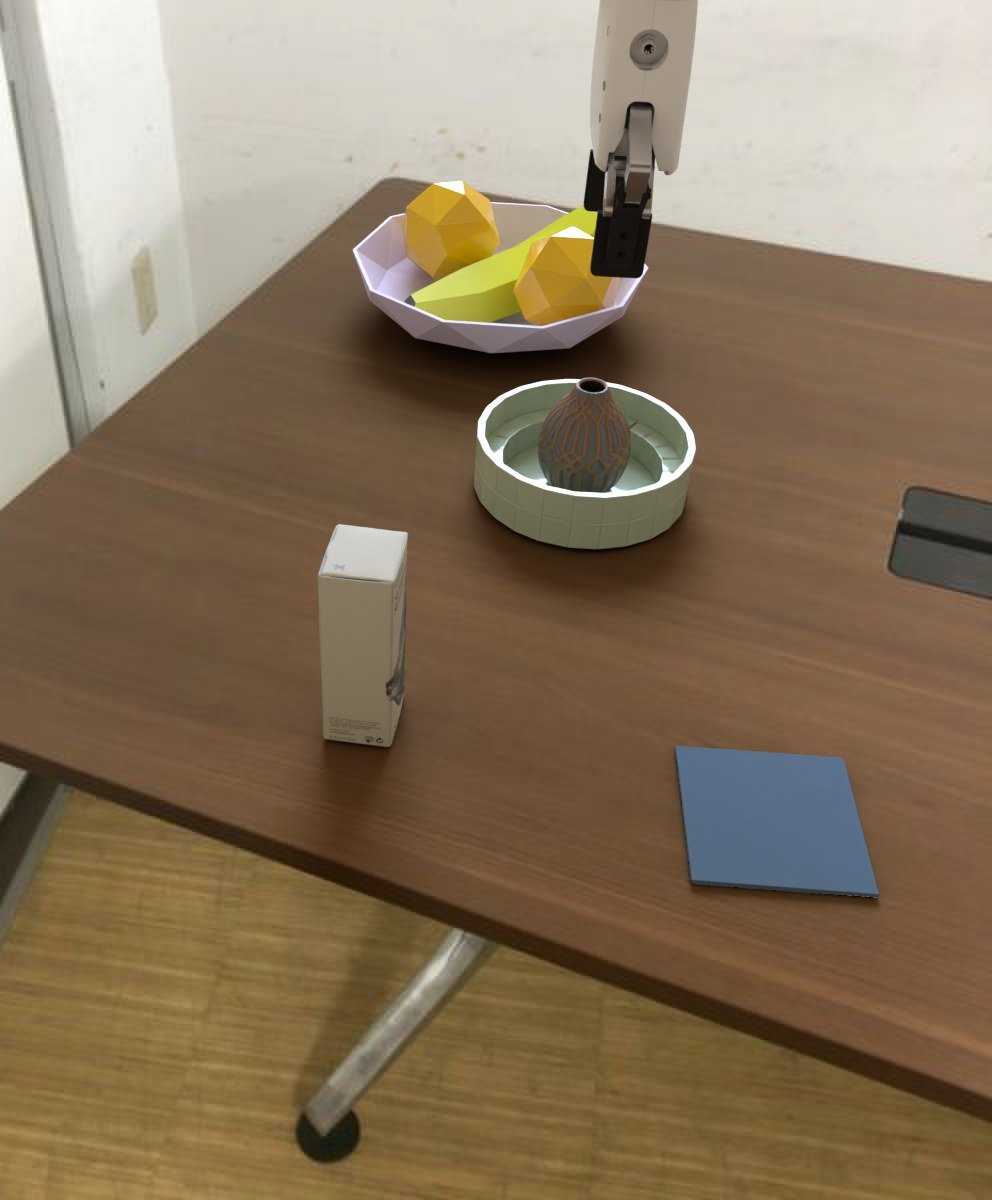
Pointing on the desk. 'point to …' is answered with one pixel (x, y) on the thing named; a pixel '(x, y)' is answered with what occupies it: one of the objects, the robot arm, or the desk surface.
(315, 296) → the desk surface
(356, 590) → the box
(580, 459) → the vase
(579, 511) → the bowl
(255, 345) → the desk surface
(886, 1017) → the desk surface
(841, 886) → the mat
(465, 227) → the fruit bowl
